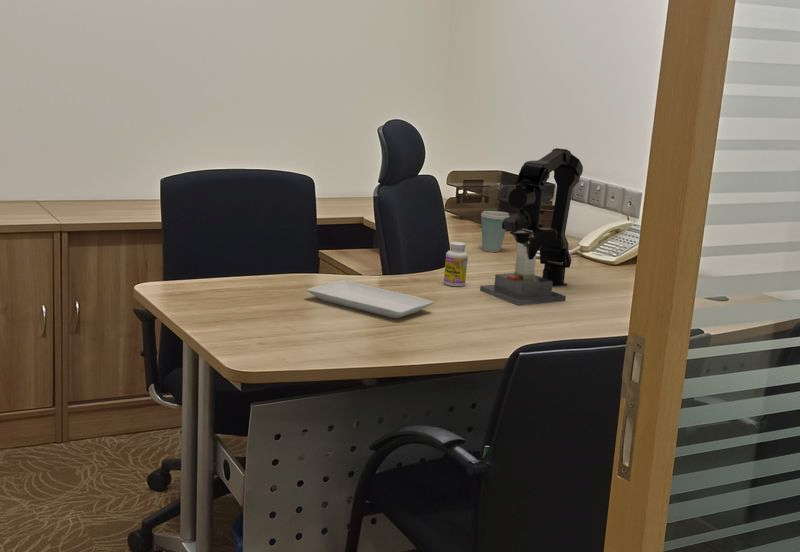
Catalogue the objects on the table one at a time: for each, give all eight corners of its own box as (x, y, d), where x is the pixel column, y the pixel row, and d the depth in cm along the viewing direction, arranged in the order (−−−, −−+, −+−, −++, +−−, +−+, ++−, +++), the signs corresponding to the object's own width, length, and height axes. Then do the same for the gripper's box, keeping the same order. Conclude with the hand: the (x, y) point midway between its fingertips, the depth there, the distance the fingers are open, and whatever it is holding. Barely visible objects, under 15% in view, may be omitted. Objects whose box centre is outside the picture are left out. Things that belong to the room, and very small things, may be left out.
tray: (398, 324, 236) (399, 311, 235) (304, 300, 253) (304, 287, 252) (434, 313, 249) (435, 300, 249) (342, 291, 267) (343, 279, 266)
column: (527, 276, 278) (530, 241, 276) (536, 279, 275) (540, 243, 272) (511, 277, 275) (515, 241, 273) (520, 280, 272) (524, 244, 269)
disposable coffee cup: (472, 248, 348) (476, 208, 344) (497, 247, 352) (500, 208, 349) (486, 253, 338) (490, 213, 335) (511, 253, 343) (515, 213, 340)
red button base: (526, 287, 288) (528, 267, 287) (565, 301, 273) (567, 280, 272) (479, 290, 279) (481, 270, 277) (517, 305, 264) (520, 284, 263)
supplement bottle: (439, 284, 283) (443, 243, 280) (448, 280, 289) (452, 240, 286) (459, 288, 280) (463, 246, 277) (468, 284, 286) (472, 243, 283)
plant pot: (518, 248, 353) (523, 207, 350) (525, 242, 368) (529, 202, 365) (561, 254, 349) (566, 211, 345) (566, 247, 364) (571, 206, 360)
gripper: (490, 201, 274) (485, 252, 277) (531, 211, 258) (525, 266, 262) (519, 200, 280) (514, 251, 283) (561, 210, 264) (555, 264, 268)
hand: (526, 258), depth 274 cm, fingers closed on column, 4 cm apart
